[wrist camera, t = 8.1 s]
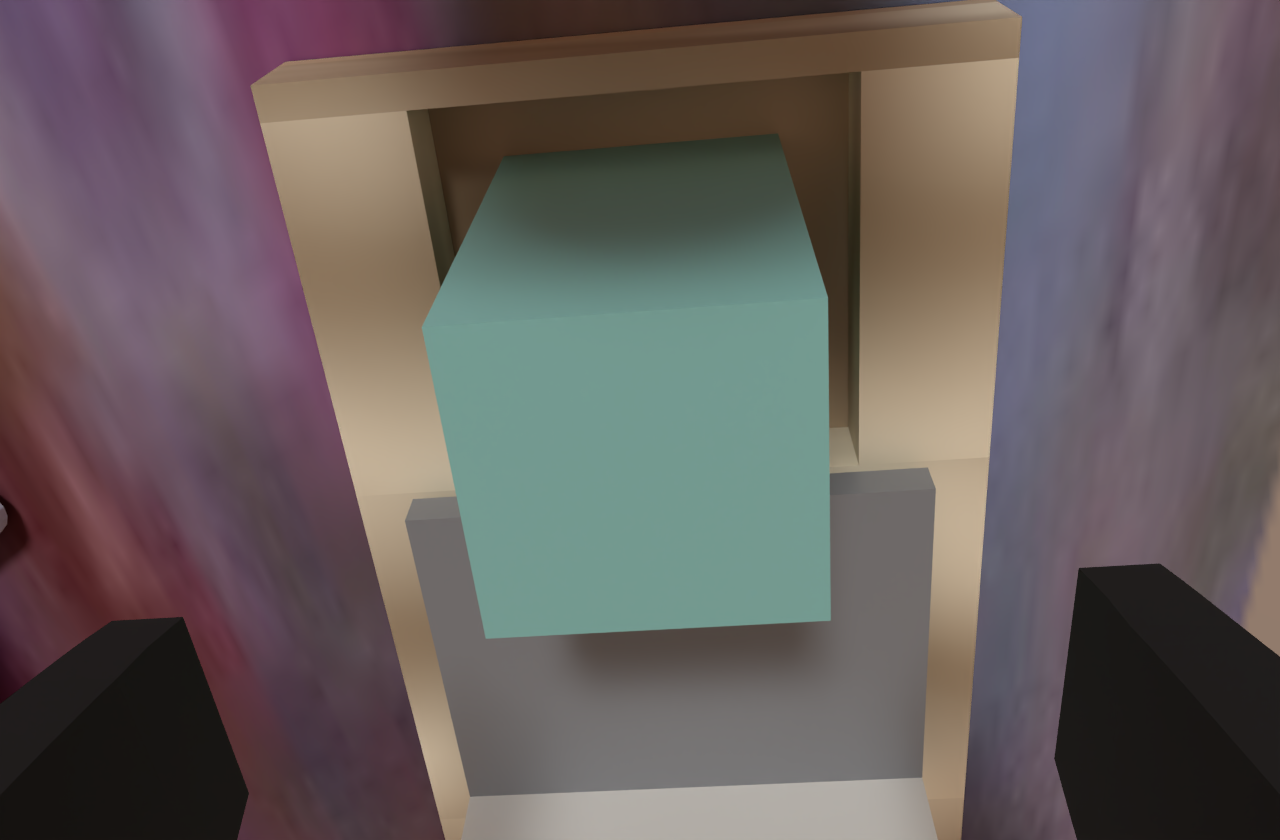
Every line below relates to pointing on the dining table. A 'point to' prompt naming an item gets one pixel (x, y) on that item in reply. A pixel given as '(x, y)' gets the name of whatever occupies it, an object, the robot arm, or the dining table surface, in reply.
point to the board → (661, 113)
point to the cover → (702, 699)
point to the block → (638, 392)
